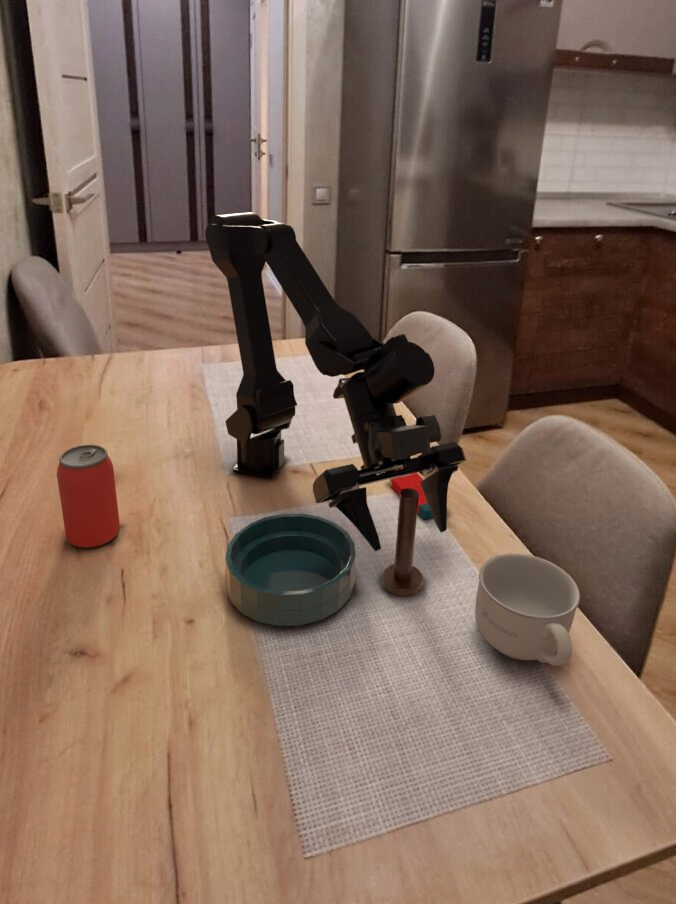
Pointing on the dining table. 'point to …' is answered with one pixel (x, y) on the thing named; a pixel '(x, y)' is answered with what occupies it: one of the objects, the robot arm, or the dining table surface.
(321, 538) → the bowl
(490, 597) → the teacup
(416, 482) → the popsicle
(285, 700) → the dining table surface
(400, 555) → the wooden peg stand
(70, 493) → the beer can
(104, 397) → the dining table surface
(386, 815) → the dining table surface
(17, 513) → the dining table surface
